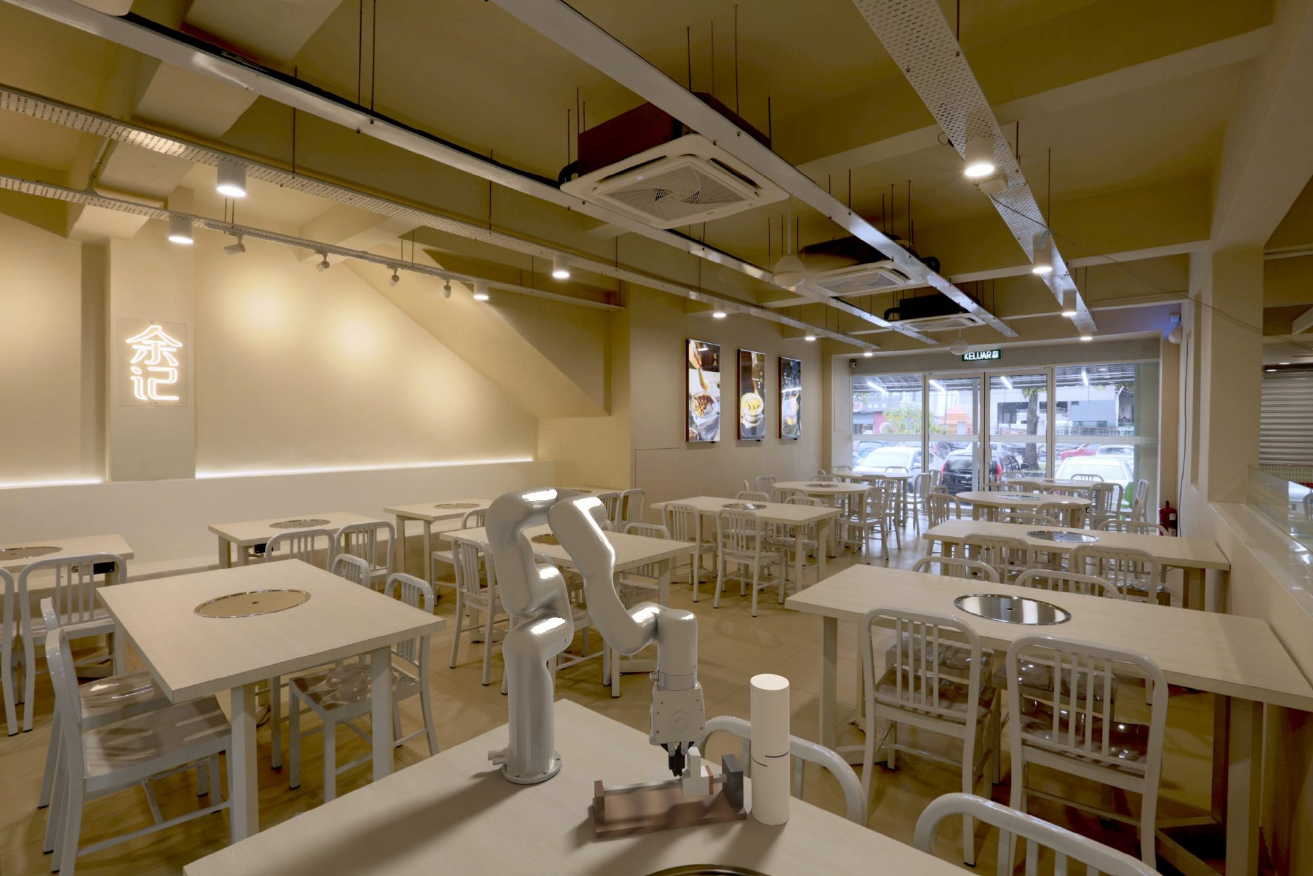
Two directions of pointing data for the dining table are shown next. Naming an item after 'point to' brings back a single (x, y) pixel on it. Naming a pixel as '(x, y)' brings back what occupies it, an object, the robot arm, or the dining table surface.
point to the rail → (669, 803)
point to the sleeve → (694, 776)
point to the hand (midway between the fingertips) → (676, 772)
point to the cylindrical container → (770, 749)
